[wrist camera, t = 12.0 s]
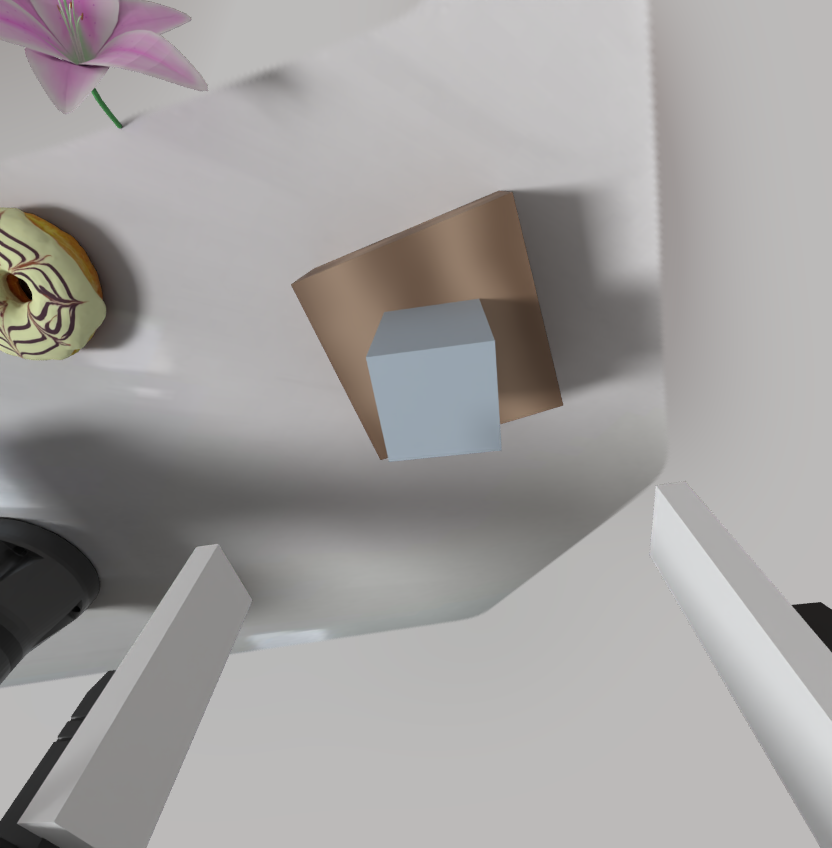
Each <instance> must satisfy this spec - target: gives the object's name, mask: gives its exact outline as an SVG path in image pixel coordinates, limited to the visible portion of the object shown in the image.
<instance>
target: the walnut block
mask: <svg viewBox="0 0 832 848" xmlns="http://www.w3.org/2000/svg"><path fill="white" fill-rule="evenodd" d="M291 286H292V288H293V290H294V292H295V293H296V295H297V297H298V299H299V301H300V303H301V305H302V307H303V309H304V311H305V313H306V315H307V317H308V319H309V321H310V323H311V325H312V327H313V329H314V331H315V333H316V335H317V337H318V339H319V340H320V342H321V344H322V346H323V348H324V350H325V352H326V354H327V356H328V358H329V360H330V362H331V364H332V366H333V368H334V370H335V372H336V374H337V376H338V378H339V380H340V382H341V384H342V386H343V387H344V389H345V391H346V393H347V395H348V397H349V399H350V401H351V403H352V405H353V407H354V409H355V411H356V413H357V415H358V417H359V419H360V421H361V423H362V425H363V427H364V429H365V431H366V433H367V434H368V436H369V438H370V440H371V442H372V444H373V446H374V448H375V450H376V452H377V454H378V456H379V458H380V460H382V459H386V458H388V455H387V450H386V446H385V441H384V437H383V432H382V428H381V423H380V419H379V414H378V410H377V405H376V401H375V396H374V392H373V387H372V383H371V378H370V374H369V369H368V365H367V360H366V356H367V353H368V351H369V348H370V346H371V343H372V341H373V339H374V336H375V334H376V331H377V329H378V326H379V324H380V321H381V319H382V316H383V314H384V312H388V311H396V310H403V309H410V308H417V307H424V306H431V305H438V304H445V303H452V302H459V301H466V300H473V299H479V300H480V302H481V305H482V308H483V310H484V313H485V316H486V318H487V321H488V324H489V326H490V329H491V332H492V334H493V337H494V340H495V351H496V367H497V384H498V400H499V417H500V424H503V423H506V422H510V421H513V420H516V419H520V418H523V417H526V416H530V415H533V414H536V413H540V412H543V411H546V410H550V409H553V408H556V407H560V406H563V402H562V398H561V393H560V389H559V385H558V381H557V377H556V372H555V368H554V364H553V360H552V356H551V352H550V347H549V343H548V339H547V335H546V331H545V326H544V322H543V318H542V314H541V310H540V305H539V301H538V297H537V293H536V289H535V284H534V280H533V276H532V272H531V268H530V263H529V259H528V255H527V251H526V247H525V243H524V238H523V234H522V230H521V226H520V222H519V217H518V213H517V209H516V205H515V201H514V196H513V192H508V191H497V192H495V193H492V194H490V195H487V196H485V197H483V198H480V199H478V200H476V201H473V202H471V203H469V204H466V205H464V206H461V207H459V208H457V209H454V210H452V211H450V212H447V213H445V214H442V215H440V216H438V217H435V218H433V219H431V220H428V221H426V222H423V223H421V224H419V225H416V226H414V227H412V228H409V229H407V230H404V231H402V232H400V233H397V234H395V235H393V236H390V237H388V238H385V239H383V240H381V241H378V242H376V243H374V244H371V245H369V246H367V247H364V248H362V249H359V250H357V251H355V252H352V253H350V254H348V255H345V256H343V257H340V258H338V259H336V260H333V261H331V262H329V263H326V264H324V265H321V266H319V267H317V268H314V269H313V270H311V271H310V272H308V273H307V274H305V275H304V276H303V277H301V278H300V279H298V280H297V281H295V282H294V283H292V284H291Z"/></svg>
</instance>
